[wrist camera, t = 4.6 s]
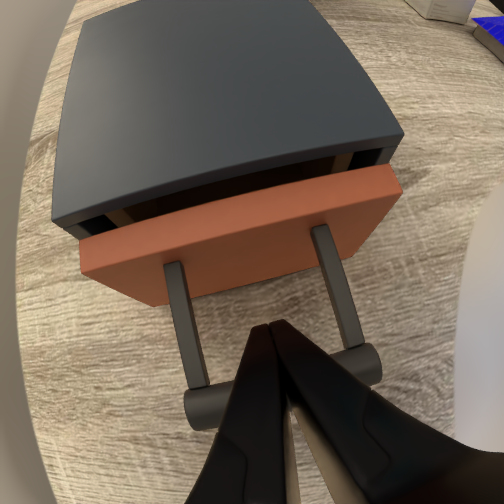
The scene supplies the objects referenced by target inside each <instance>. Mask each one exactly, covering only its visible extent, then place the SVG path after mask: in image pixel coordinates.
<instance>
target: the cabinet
mask: <svg viewBox="0 0 504 504" xmlns="http://www.w3.org/2000/svg"><path fill="white" fill-rule="evenodd" d="M403 136H404V132H403V130H402V128H401V126H400V125H399V123H398V121H397V120H396V118H395V116H394V115H393V113H392V111H391V110H390V108H389V107H388V105H387V103H386V102H385V100H384V99H383V97H382V96H381V94H380V92H379V91H378V89H377V88H376V86H375V85H374V83H373V82H372V80H371V79H370V78H369V76H368V75H367V73H366V72H365V70H364V69H363V68H362V66H361V65H360V63H359V62H358V61H357V59H356V58H355V57H354V55H353V54H352V53H351V51H350V50H349V49H348V47H347V46H346V45H345V43H344V42H343V41H342V40H341V38H340V37H339V36H338V35H337V33H336V32H335V31H334V30H333V28H332V27H331V26H330V25H329V24H328V22H327V21H326V20H325V19H324V18H323V16H322V15H321V14H320V13H319V12H318V11H317V10H316V8H315V7H314V6H313V5H312V4H311V3H310V2H309V1H308V0H139V1H136V2H133V3H130V4H127V5H124V6H121V7H119V8H116V9H113V10H110V11H108V12H105V13H103V14H100V15H98V16H95V17H93V18H90V19H88V20H86V21H84V22H83V25H82V29H81V32H80V35H79V39H78V42H77V46H76V49H75V53H74V57H73V61H72V65H71V69H70V73H69V78H68V82H67V87H66V92H65V97H64V102H63V108H62V113H61V119H60V126H59V133H58V140H57V148H56V157H55V167H54V178H53V193H52V218H51V220H52V222H53V223H55V224H56V225H58V226H59V227H60V228H63V229H64V230H65V231H66V232H68V233H69V234H71V235H72V236H74V237H75V238H77V239H78V240H79V241H80V240H82V239H85V238H88V237H91V236H94V235H97V234H101V233H104V232H107V231H110V230H114V229H117V228H119V227H118V226H116V225H115V224H114V223H113V222H112V221H111V220H110V219H109V218H108V217H107V216H106V215H105V214H106V213H109V212H112V211H115V210H118V209H121V208H125V207H128V206H131V205H134V204H138V203H141V202H144V201H148V200H151V199H155V198H158V197H161V196H165V195H168V194H172V193H176V192H179V191H183V190H186V189H190V188H194V187H198V186H201V185H205V184H209V183H213V182H217V181H221V180H225V179H229V178H233V177H237V176H241V175H245V174H249V173H254V172H258V171H262V170H267V169H271V168H276V167H280V166H285V165H290V164H294V163H299V162H304V161H309V160H314V159H319V158H324V157H330V156H335V155H340V154H346V153H352V152H354V154H353V157H352V159H351V162H350V164H349V167H348V169H347V171H350V170H355V169H360V168H365V167H371V166H376V165H382V164H387V163H389V161H390V159H391V157H392V156H393V154H394V152H395V150H396V148H397V147H398V145H399V144H400V142H401V140H402V138H403Z"/></svg>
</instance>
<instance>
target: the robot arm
mask: <svg viewBox="0 0 504 504" xmlns="http://www.w3.org/2000/svg"><path fill="white" fill-rule="evenodd" d="M287 397H288V399H287ZM288 400H289V403H290V405H291V408H292V410H293V412H294V415H295V417H296V419H297V421H298V424H299V426H300V428H301V430H302V433H303V435H304V437H305V439H306V442H307V444H308V446H309V448H310V450H311V453H312V455H313V457H314V459H315V462H316V464H317V466H318V468H319V470H320V473H321V475H322V477H323V479H324V481H325V483H326V486H327V488H328V490H329V492H330V494H331V496H332V499H333V501H334V503H335V504H504V453H502V452H486V451H481V450H477V449H474V448H471V447H468V446H466V445H464V444H462V443H460V442H458V441H456V440H454V439H452V438H450V437H448V436H446V435H445V434H443V433H441V432H439V431H437V430H435V429H433V428H432V427H430V426H428V425H426V424H424V423H422V422H421V421H419V420H417V419H415V418H414V417H412V416H410V415H409V414H407V413H405V412H404V411H402V410H400V409H399V408H398V407H396V406H395V405H393V404H392V403H390V402H389V401H388V400H386V399H385V398H384V397H382V396H381V395H380V394H378V393H377V392H376V391H375V390H371V388H370V387H369V386H368V385H366V384H365V383H364V382H363V381H361V380H360V379H359V378H357V377H356V376H355V375H354V374H352V373H351V372H350V371H349V370H347V369H346V368H345V367H343V366H342V365H341V364H340V363H338V362H337V361H336V360H335V359H333V358H332V357H331V356H330V355H328V354H327V353H326V352H324V351H323V350H322V349H321V348H319V347H318V346H317V345H316V344H314V343H313V342H312V341H311V340H309V339H308V338H307V337H306V336H304V335H303V334H302V333H301V332H300V331H298V330H297V329H296V328H295V327H293V326H292V325H291V324H290V323H288V322H287V321H286V320H284V319H280V320H277V321H273V322H270V323H269V326H268V324H261V325H257V326H254V327H252V329H251V331H250V334H249V337H248V340H247V344H246V347H245V350H244V353H243V356H242V359H241V362H240V365H239V368H238V371H237V374H236V377H235V380H234V383H233V386H232V389H231V392H230V395H229V398H228V401H227V404H226V407H225V409H224V412H223V415H222V418H221V421H220V424H219V427H218V432H217V433H216V435H215V438H214V441H213V444H212V447H211V449H210V452H209V454H208V457H207V459H206V462H205V464H204V467H203V469H202V471H201V473H200V475H199V477H198V479H197V481H196V483H195V485H194V487H193V489H192V490H191V492H190V494H189V496H188V498H187V500H186V501H185V503H184V504H301V498H300V490H299V481H298V473H297V465H296V457H295V449H294V441H293V433H292V425H291V417H290V410H289V404H288Z"/></svg>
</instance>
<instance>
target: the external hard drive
mask: <svg viewBox="0 0 504 504" xmlns="http://www.w3.org/2000/svg"><path fill="white" fill-rule="evenodd" d="M489 1H490V2H492V3H493V4H494V5H495V6H496V7H497V8H498V9H499V10H500V11H501V12H502V13H503V14H504V0H489Z"/></svg>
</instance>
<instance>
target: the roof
mask: <svg viewBox="0 0 504 504" xmlns="http://www.w3.org/2000/svg"><path fill="white" fill-rule="evenodd" d="M471 20H473V21H474V22H475V23H476V24H478V25H477V27H476V30H475V32H474V34H473V36H474V37H475V38H476V39H478V40H479V41H480V42H481V43H482V44H484V45H485V46H486V47H487V48H488V49H489V50H490V51H491V52H493V53H494V54H495V55H496V56H497V57H498V58H499V59H500V60H501V61H502V62H503V63H504V16H501V17H482V18H471Z"/></svg>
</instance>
